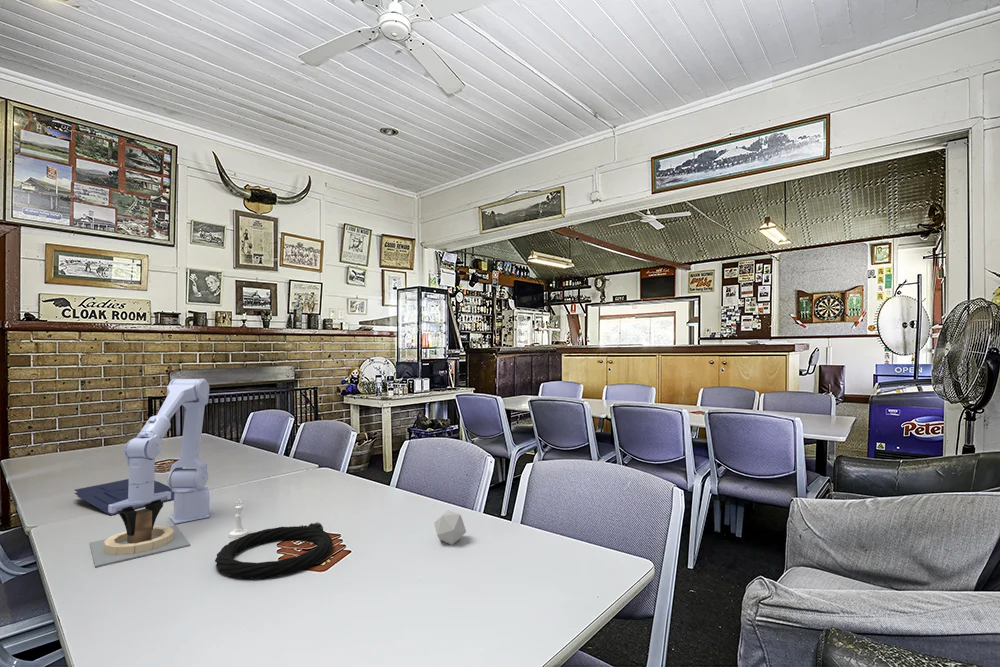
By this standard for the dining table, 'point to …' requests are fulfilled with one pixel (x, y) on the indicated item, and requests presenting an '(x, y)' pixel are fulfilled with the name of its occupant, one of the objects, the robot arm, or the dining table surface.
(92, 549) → the bead board
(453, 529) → the die
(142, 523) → the wooden peg
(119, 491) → the dark blue flat plate
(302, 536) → the cable lock
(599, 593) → the dining table surface
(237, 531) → the chess piece
